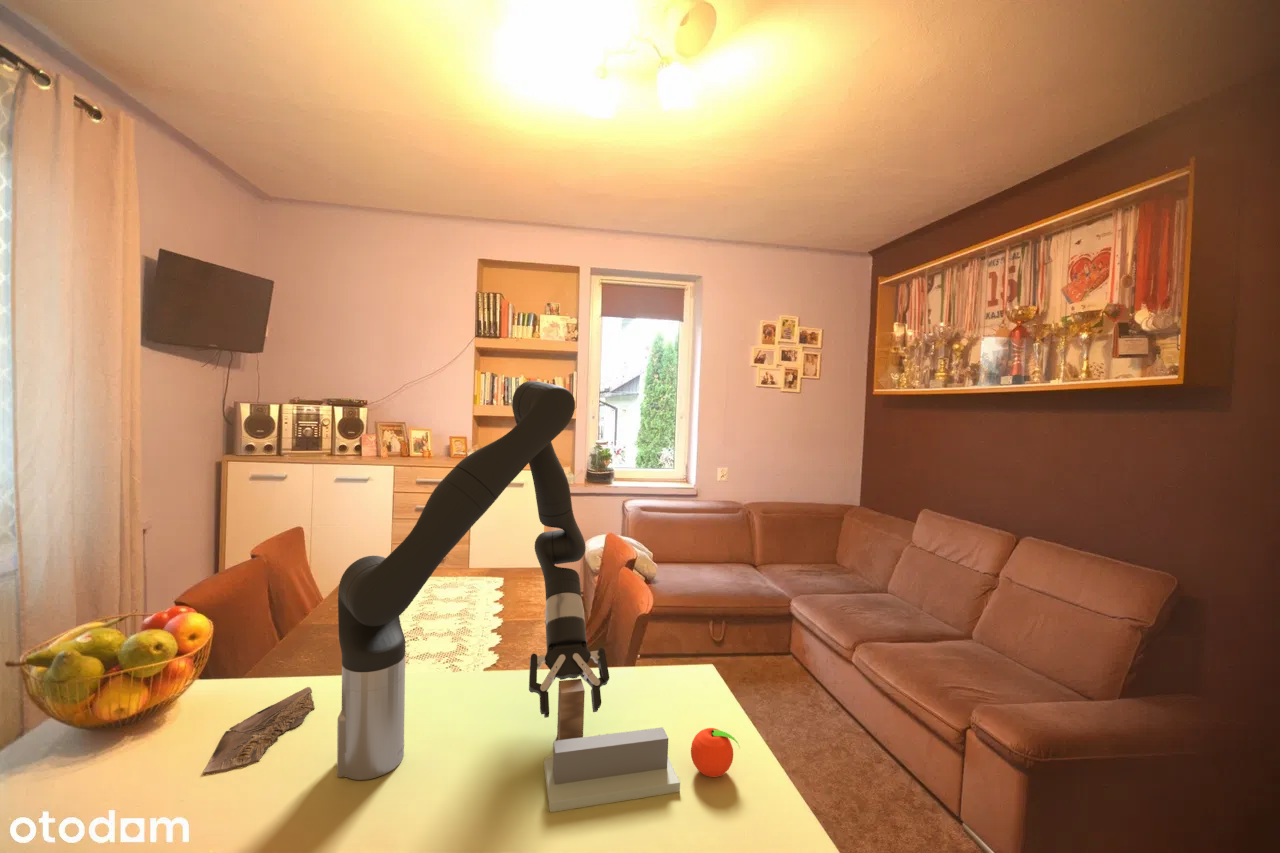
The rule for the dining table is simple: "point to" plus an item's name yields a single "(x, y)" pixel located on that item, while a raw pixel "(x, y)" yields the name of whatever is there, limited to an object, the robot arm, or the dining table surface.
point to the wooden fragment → (259, 733)
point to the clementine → (712, 752)
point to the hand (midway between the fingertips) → (571, 713)
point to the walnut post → (570, 709)
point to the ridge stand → (609, 769)
